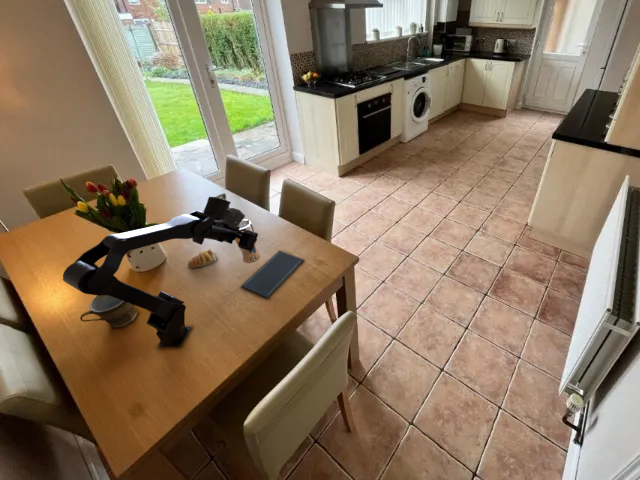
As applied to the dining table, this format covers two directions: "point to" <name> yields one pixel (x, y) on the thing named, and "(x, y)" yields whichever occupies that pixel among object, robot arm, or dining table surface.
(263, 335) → the dining table surface
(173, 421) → the dining table surface
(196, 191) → the dining table surface
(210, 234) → the robot arm
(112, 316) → the ceramic cup
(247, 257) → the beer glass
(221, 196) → the food container
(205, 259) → the pastry
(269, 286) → the mat
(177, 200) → the dining table surface
